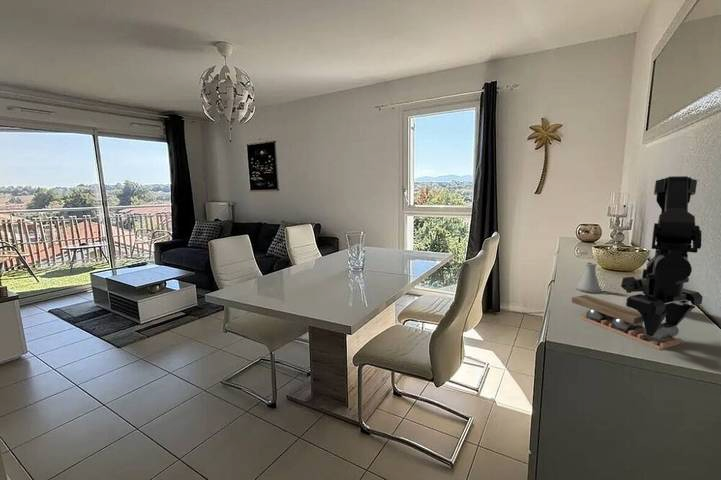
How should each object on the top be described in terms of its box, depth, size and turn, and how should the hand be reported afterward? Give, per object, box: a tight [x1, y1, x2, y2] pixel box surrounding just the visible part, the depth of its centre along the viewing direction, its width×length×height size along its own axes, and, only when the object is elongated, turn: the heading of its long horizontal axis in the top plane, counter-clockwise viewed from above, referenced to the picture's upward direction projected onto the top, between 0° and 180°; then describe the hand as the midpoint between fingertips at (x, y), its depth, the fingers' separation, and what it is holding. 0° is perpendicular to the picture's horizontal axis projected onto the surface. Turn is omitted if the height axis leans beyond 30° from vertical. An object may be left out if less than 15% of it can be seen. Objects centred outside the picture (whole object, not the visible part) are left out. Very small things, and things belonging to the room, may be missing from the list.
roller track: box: [580, 313, 685, 351], centre depth 90 cm, size 9×20×1 cm, turn 20°
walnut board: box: [571, 294, 644, 324], centre depth 95 cm, size 6×17×2 cm, turn 20°
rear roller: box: [585, 309, 614, 323], centre depth 97 cm, size 7×4×4 cm, turn 110°
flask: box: [576, 262, 602, 294], centre depth 122 cm, size 7×7×10 cm
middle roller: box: [611, 319, 644, 333], centre depth 90 cm, size 7×4×4 cm, turn 110°
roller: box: [644, 321, 680, 342], centre depth 83 cm, size 4×7×4 cm, turn 110°
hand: (659, 333), depth 83 cm, fingers closed on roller, 7 cm apart
